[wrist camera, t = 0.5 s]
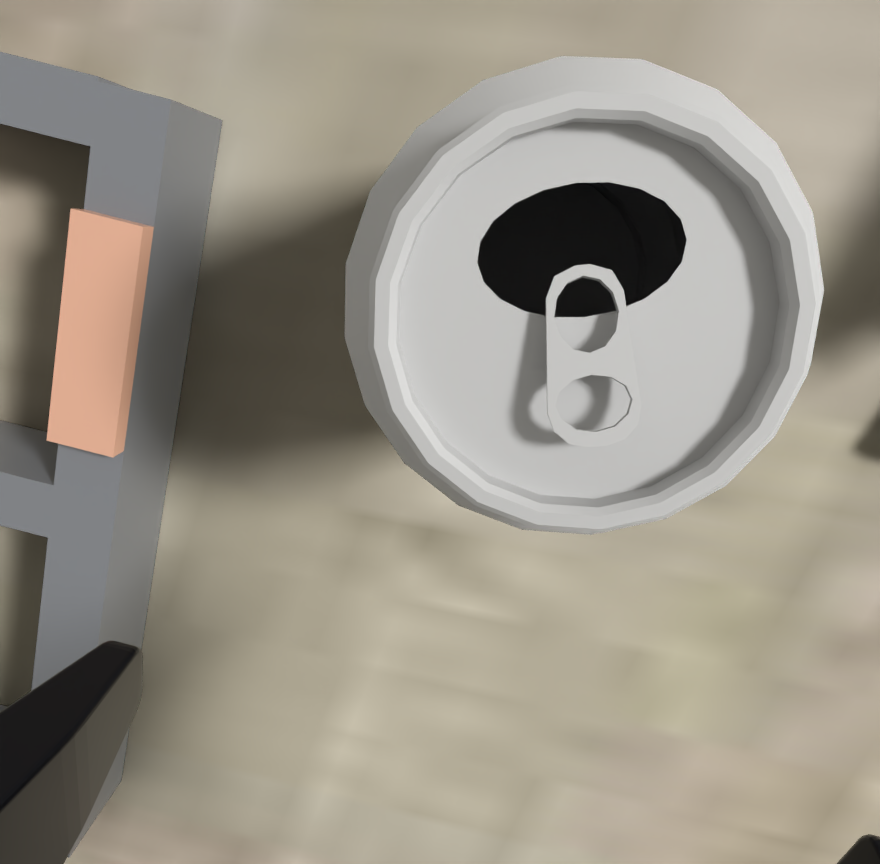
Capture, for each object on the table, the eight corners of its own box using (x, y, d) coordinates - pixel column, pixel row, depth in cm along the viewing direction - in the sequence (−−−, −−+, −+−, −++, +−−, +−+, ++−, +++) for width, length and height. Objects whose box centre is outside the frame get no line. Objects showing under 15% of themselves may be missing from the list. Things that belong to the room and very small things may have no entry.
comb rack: (121, 780, 27) (58, 873, 24) (-70, 731, 27) (-165, 815, 24) (222, 116, 21) (160, 90, 17) (-24, 53, 21) (-143, 13, 17)
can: (667, 121, 21) (891, -19, 9) (675, 390, 22) (869, 561, 11) (395, 155, 21) (277, 66, 10) (425, 413, 23) (357, 596, 12)
